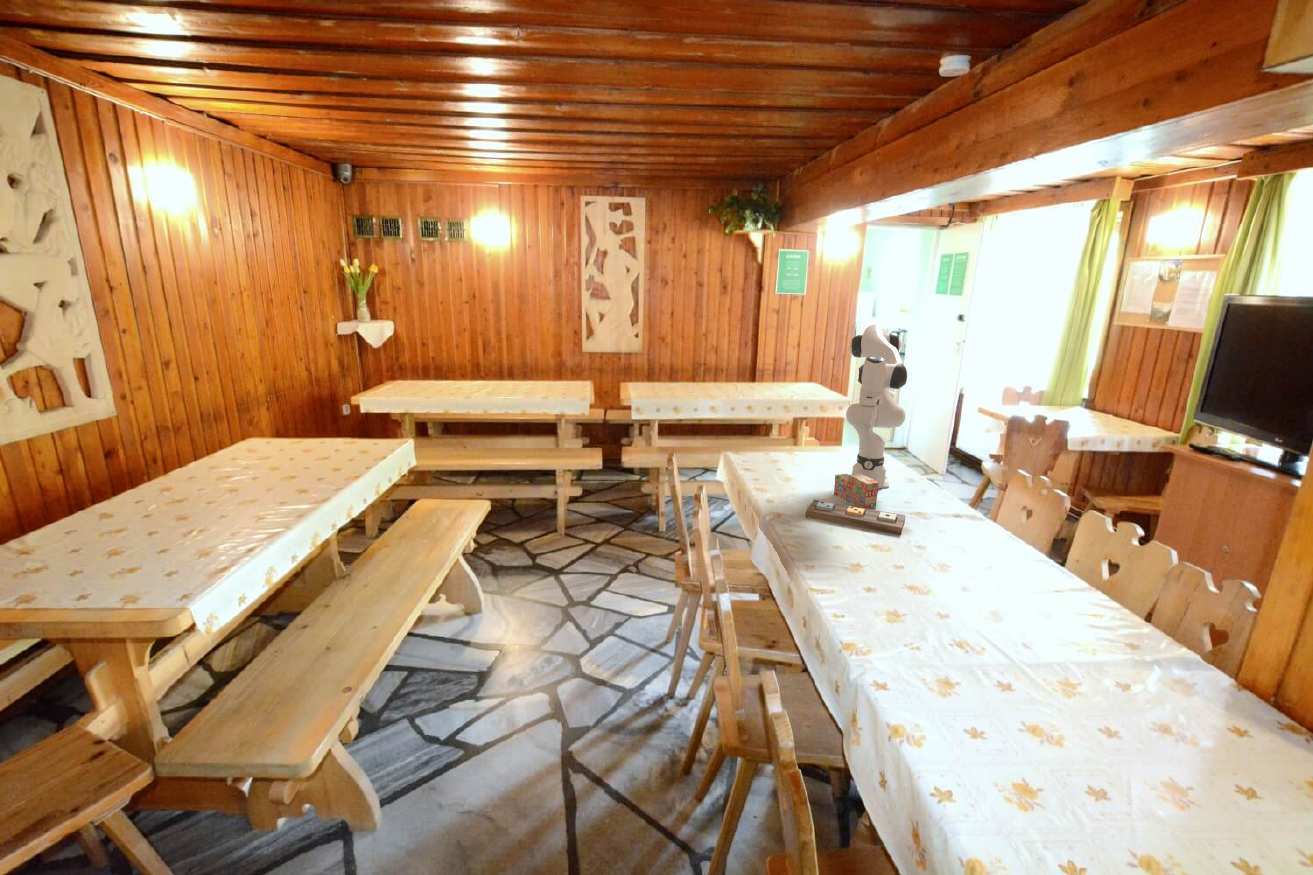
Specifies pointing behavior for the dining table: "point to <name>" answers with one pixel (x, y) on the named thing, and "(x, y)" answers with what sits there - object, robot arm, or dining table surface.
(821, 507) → the button two
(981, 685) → the dining table surface
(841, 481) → the stack of blocks
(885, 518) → the button one
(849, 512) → the button three
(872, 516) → the console
